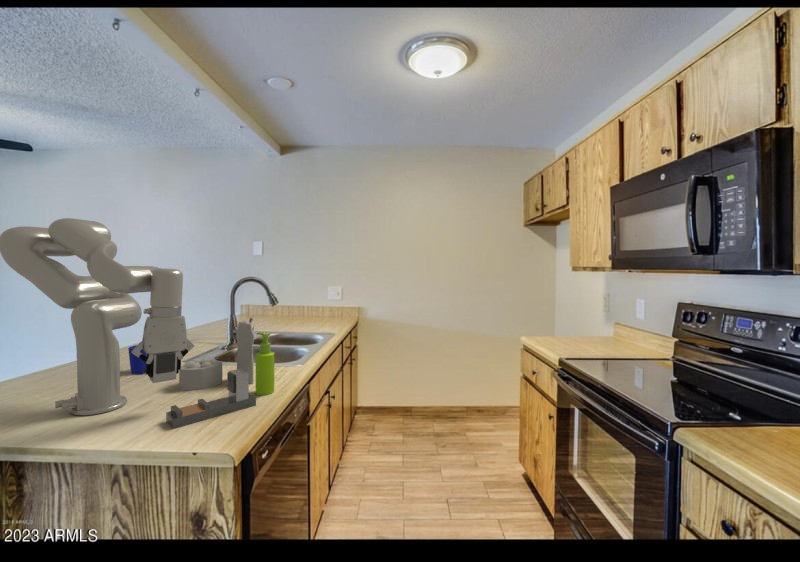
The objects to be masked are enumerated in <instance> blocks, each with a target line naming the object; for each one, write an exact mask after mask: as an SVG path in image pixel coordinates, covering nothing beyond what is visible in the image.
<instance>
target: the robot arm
mask: <svg viewBox="0 0 800 562" xmlns="http://www.w3.org/2000/svg"><path fill="white" fill-rule="evenodd" d="M117 254H118V246H117V245H116V243H115V242H114V241H113V240H112V235H111V231H110V229H109V228H108V227H107V226H106V225H105V224H103V223H101V222H98V221H95V220H87V219H79V218H70V217H69V218H68V217H65V218H60V219H56V220H54V221H52V222H51V223H50V225H49V226H48V227H38V226H27V225H26V226H16V227H10V228H8V229H5V230H4V231H3V232H2V233H1V234H0V255H1V258H2V259H3V261H4V262H5V263H6V264H7V265H8V267H10V268H11V269H12V270H13V271H14V272H16V273H17V274H19V275H20V276H22V277H23V278H24V279H26V280H27V281H29V282H30V283H32V285H34V286H35V287H36V288H37V289H38V290H39V291H40V292H42V293H43V294H44V295H45V296H46V297H47V298H49V299H50V300H51V301H52V302H53V303H55V304H56V305H57V306H59V307H60V308H63V309H69V310H71V309H72V311H71V314H70V322H71V323H70V324H71V327H72V330H73V332H74V338H75V349H76V380H77V381H76V382H77V388H76V389H77V392H76V393H74V396H71V397H70V398H67V399H60V400H55V402H54V407H55V408H54V409H58V408H59V409H60V408H61V409H67V408H70V411H69V412H70V413H71V414H72V415H75V416H92V415H98V414H103V413H107V412H108V413H109V412H111V411H115V410H116V409H119V408H122V407H123V406H125V405H126V404H127V401H128V398H127V397H126V395H125V396H124V395H121V361H120V359H121V356H120V344H119V340H118V338H117V337H116V336H115V333H114V332H113V331H114V330H115V331H116V330H120V329H124V328H128V327H129V328H130V327H131V326H134V325H136V324H137V323H138V322H139V321H140V319H141V318H142V313H143V314H144V315H145V314H147V315H149V316H147V317H146V318H145V323H144V326H143V327H144V328H143V334H142V340H141V341H140V342H139V343H138V344H137V346H136V347H135V348H134V349H133V350H132V351H131V353H132V354H134V355H135V356H137V357H139V358H140V359H141V360H143V361H144V362H146V370H145V373H144V374H145V375H147V377H149V379H150V378H152V377H153V363H152V360H153V358H154V354H161V353H169V352H177V372H176V375H177V374H178V375H179V370H180V369H181V366H182V360H183V358H184V357H185V356H186V355H187V354H188V353H189V352H190V351H191V350H192V349H194V348H195V344H194V343H193V342H192V341H190V340H189V339H188V338H187V337H188V336H187V322H186V318H185V316H184V315H182V309H183V308H182V307H183V306H182V305H183V284H184V274H183V271H181V270H180V269H176V268H161V267H158V266H154V265H153V266H152V265H123V264H121V263H119V262H118V261H115V260H114V259H115V258H116V256H117ZM71 256H72V257H73V256H76V257H77V258H79V259H80V260H82V261H84V262H85V263H86V267H87V270H88V273H89V275H77V274H76V273H74V272H73V271H71V270H70V269H69V268H68V267H66V266H65V265H63V264H62V263H61V262H60V261H57V260H55V259H53V258H51V257H71ZM136 293H150V299H149V306H148V308H143V310H142V307H141V305H140V304H139V303H138V301H137V300H136V299H135V298H134V297H133V296H131V294H136ZM142 311H143V312H142ZM141 349H143V350H144V351H145V352H146V353H147V354H146V356H145V355H144V354H142V353H141V352H140V350H141Z"/></svg>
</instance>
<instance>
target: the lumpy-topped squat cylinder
mask: <svg viewBox="0 0 800 562" xmlns="http://www.w3.org/2000/svg"><path fill="white" fill-rule="evenodd" d="M222 383H223V362H222V361H220V360H217V359H214V358H211V357H205V358H203V359H200V358H198V357H197V358H193V359H191V360H189V361H187V362H186V363H184V364H183V365H181V369H180V370H179V373H178V388H179V390H180V391H182V392H183V391H190V392H191V391H199V390H200V391H201V390H204V389H209V388H212V387H216V386H218V385H220V384H222Z"/></svg>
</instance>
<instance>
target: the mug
mask: <svg viewBox="0 0 800 562" xmlns="http://www.w3.org/2000/svg"><path fill="white" fill-rule="evenodd" d="M137 345H138V344H137ZM137 345H132V346H129V347H128V348H127V349H128V356H129V359H128V360H129V367H130V373H132V374H134V375H140V374H141V375H142V374H146V373H145V370H146V362H144V361H143V360H141V359H140V358H139V357H137V356H135V355H134V354H132V353H131V351H132V350H133V349H134V348H135V347H136V346H137ZM140 352H141V353H142V354H144V355H145V356H146V354H147V353H146V352H145V351H144V350H143V349H141V350H140Z"/></svg>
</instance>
